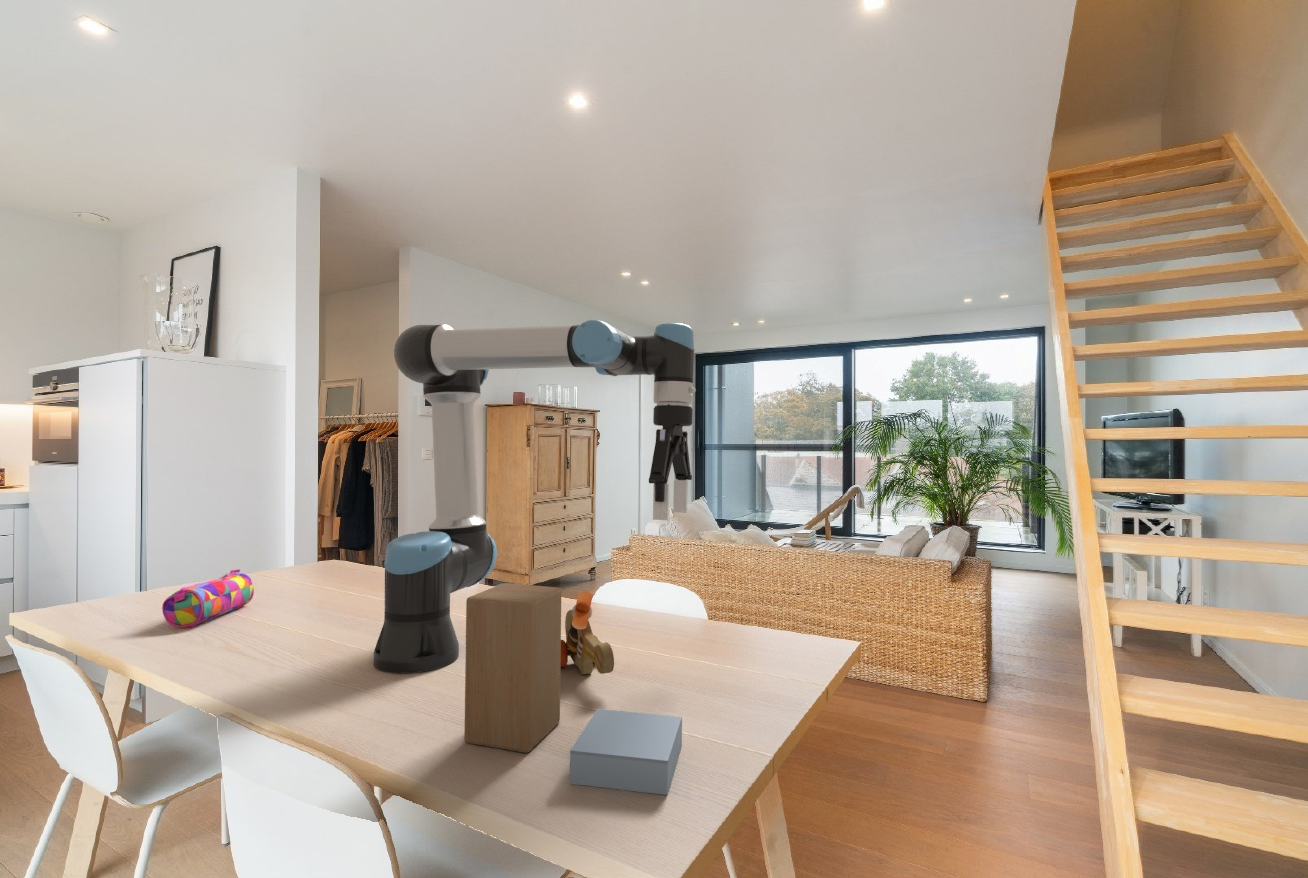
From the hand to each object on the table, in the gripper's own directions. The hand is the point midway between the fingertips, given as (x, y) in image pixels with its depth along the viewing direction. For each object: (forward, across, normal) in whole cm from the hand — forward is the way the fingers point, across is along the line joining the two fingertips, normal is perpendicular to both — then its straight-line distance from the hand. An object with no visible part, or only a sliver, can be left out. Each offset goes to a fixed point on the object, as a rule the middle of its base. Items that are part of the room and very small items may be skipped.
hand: (670, 516), depth 118 cm
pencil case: (+29, -7, +110) cm, 114 cm away
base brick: (+28, -38, -6) cm, 48 cm away
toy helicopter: (+28, -12, +12) cm, 33 cm away
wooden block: (+28, -36, +13) cm, 47 cm away
